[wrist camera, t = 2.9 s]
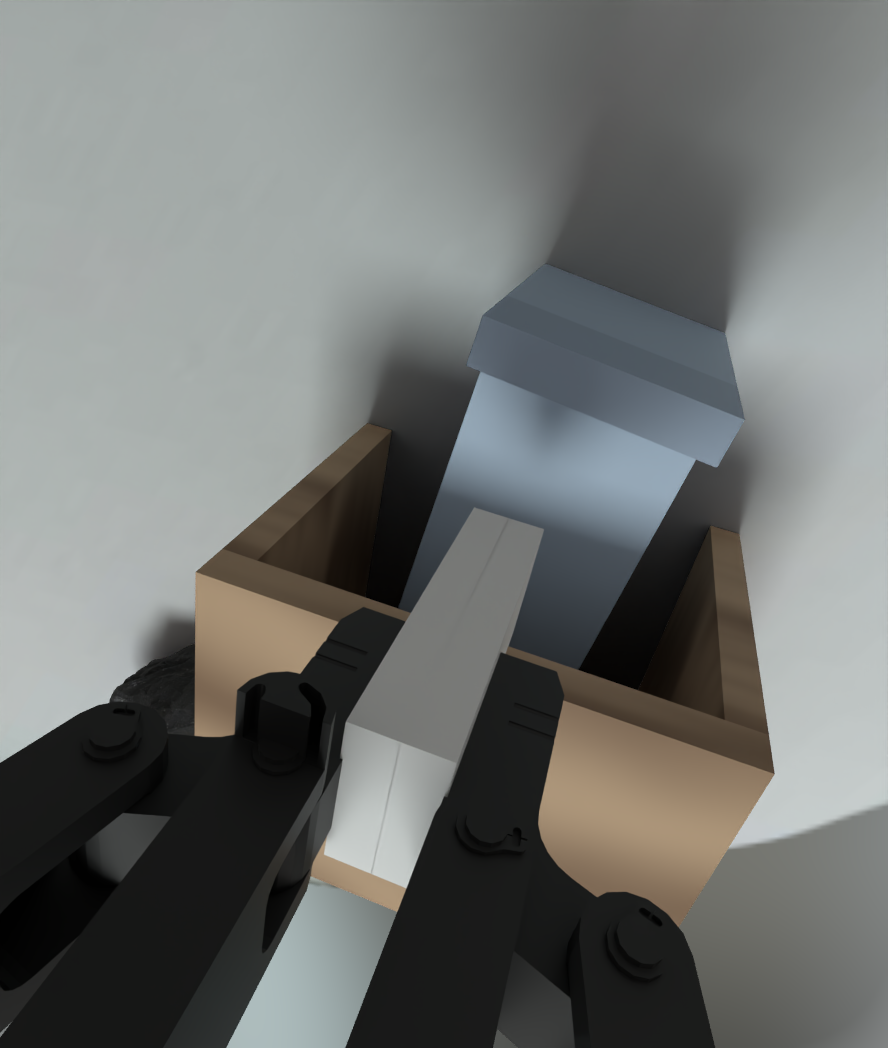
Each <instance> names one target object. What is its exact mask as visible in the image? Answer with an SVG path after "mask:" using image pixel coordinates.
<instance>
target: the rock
mask: <svg viewBox="0 0 888 1048" xmlns="http://www.w3.org/2000/svg"><path fill="white" fill-rule="evenodd" d="M119 701H120V702H131V703H140V704H142V705H144V706H147V707H149V708H151V709H154V710H156V712H157V713H158V714H159V715H160V716H161V717H162V718H163V719H164V720H165V722H166V727H167V732H168V734H179V735H191V736H195V644H194V645H191V646H189V647H186V648H184V649H183V650H181V651H179V652H177V653H176V654H174V655H172V656H170V657H168V658H164V659H157V660H153V661H151V662H150V663H149V664H148V665H147V666H145V667H143V668H142V669H140V670H138V671H137V672H136V674H133V675H132V676H130V677H128V678H127V679H126V680H125V681H124V683H123V684H122V685H120V686H118V687H117V688H116V689H115V690H114V692H113V694H112V696H111V698H110V702H109V703H114V702H119Z"/></svg>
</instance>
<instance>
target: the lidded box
mask: <svg viewBox="0 0 888 1048" xmlns="http://www.w3.org/2000/svg"><path fill="white" fill-rule="evenodd" d="M466 366H468V367H470V368H473V369H475V370H478V371H480V374H479V377H478V380H477V383H476V386H475V388H474V391H473V394H472V397H471V400H470V403H469V406H468V409H467V411H466V414H465V417H464V420H463V423H462V426H461V429H460V432H459V435H458V437H457V440H456V443H455V446H454V449H453V452H452V455H451V458H450V460H449V463H448V466H447V469H446V472H445V475H444V478H443V481H442V483H441V486H440V489H439V492H438V495H437V498H436V501H435V504H434V506H433V509H432V512H431V515H430V518H429V521H428V524H427V527H426V529H425V532H424V535H423V538H422V541H421V544H420V547H419V550H418V552H417V555H416V558H415V561H414V564H413V567H412V570H411V573H410V575H409V578H408V581H407V584H406V587H405V590H404V593H403V596H402V598H401V601H400V604H399V607H398V609H401V610H404V611H406V612H409V613H411V612H412V610H413V609H414V607H415V605H416V604H417V602H418V600H419V599H420V597H421V595H422V594H423V592H424V590H425V589H426V587H427V585H428V584H429V582H430V580H431V579H432V577H433V575H434V574H435V572H436V570H437V569H438V567H439V565H440V564H441V562H442V560H443V559H444V557H445V555H446V554H447V552H448V550H449V549H450V547H451V545H452V544H453V542H454V540H455V539H456V537H457V535H458V534H459V532H460V530H461V529H462V527H463V525H464V524H465V522H466V520H467V519H468V517H469V515H470V514H471V512H472V510H473V509H474V507H475V508H478V509H481V510H484V511H488V512H491V513H494V514H497V515H500V516H504V517H507V518H510V519H513V520H516V521H520V522H523V523H526V524H529V525H532V526H536V527H539V528H542V529H544V532H543V535H542V538H541V542H540V545H539V548H538V552H537V555H536V558H535V562H534V565H533V568H532V572H531V575H530V578H529V582H528V585H527V588H526V591H525V595H524V598H523V601H522V605H521V608H520V611H519V615H518V618H517V621H516V625H515V628H514V631H513V634H512V637H511V640H510V643H509V645H508V646H509V647H512V648H515V649H518V650H521V651H524V652H527V653H530V654H533V655H536V656H539V657H541V658H544V659H547V660H550V661H553V662H556V663H559V664H562V665H565V666H568V667H571V668H574V669H577V670H578V669H579V668H580V666H581V664H582V662H583V661H584V659H585V657H586V655H587V653H588V652H589V650H590V648H591V646H592V644H593V643H594V641H595V639H596V637H597V636H598V634H599V632H600V630H601V628H602V627H603V625H604V623H605V621H606V619H607V618H608V616H609V614H610V612H611V611H612V609H613V607H614V605H615V603H616V602H617V600H618V598H619V596H620V594H621V593H622V591H623V589H624V587H625V586H626V584H627V582H628V580H629V578H630V577H631V575H632V573H633V571H634V569H635V568H636V566H637V564H638V562H639V561H640V559H641V557H642V555H643V553H644V552H645V550H646V548H647V546H648V544H649V543H650V541H651V539H652V537H653V536H654V534H655V532H656V530H657V528H658V527H659V525H660V523H661V521H662V519H663V518H664V516H665V514H666V512H667V511H668V509H669V507H670V505H671V503H672V502H673V500H674V498H675V496H676V495H677V493H678V491H679V489H680V487H681V486H682V484H683V482H684V480H685V478H686V477H687V475H688V473H689V471H690V470H691V468H692V466H693V464H694V462H695V461H696V460H698V461H701V462H703V463H706V464H708V465H711V466H713V467H716V468H717V467H718V465H719V463H720V461H721V460H722V458H723V456H724V455H725V453H726V451H727V449H728V448H729V446H730V444H731V443H732V441H733V439H734V437H735V436H736V434H737V432H738V431H739V429H740V427H741V425H742V424H743V422H744V420H745V419H744V414H743V410H742V406H741V401H740V397H739V392H738V388H737V383H736V379H735V375H734V370H733V366H732V361H731V357H730V353H729V348H728V344H727V339H726V335H725V333H724V332H721V331H718V330H716V329H713V328H711V327H708V326H705V325H703V324H700V323H698V322H695V321H693V320H690V319H687V318H685V317H682V316H680V315H677V314H674V313H672V312H669V311H667V310H664V309H662V308H659V307H656V306H654V305H651V304H649V303H646V302H643V301H641V300H638V299H636V298H633V297H631V296H628V295H625V294H623V293H620V292H618V291H615V290H612V289H610V288H607V287H605V286H602V285H600V284H597V283H594V282H592V281H589V280H587V279H584V278H582V277H579V276H576V275H574V274H571V273H569V272H566V271H563V270H561V269H558V268H556V267H553V266H551V265H548V264H544V265H543V266H542V267H541V268H539V269H538V270H537V271H536V272H535V273H533V274H532V275H531V276H530V277H528V278H527V279H526V280H525V281H524V282H522V283H521V284H520V285H519V286H518V287H516V288H515V289H514V290H513V291H512V292H510V293H509V294H508V295H507V296H506V297H504V298H503V299H502V300H501V301H499V302H498V303H497V304H496V305H495V306H493V307H492V308H491V309H490V310H489V311H487V312H486V313H485V314H484V315H483V316H482V319H481V322H480V325H479V328H478V331H477V334H476V337H475V340H474V343H473V346H472V349H471V352H470V355H469V358H468V361H467V364H466Z"/></svg>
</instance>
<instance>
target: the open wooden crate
mask: <svg viewBox="0 0 888 1048" xmlns="http://www.w3.org/2000/svg"><path fill="white" fill-rule="evenodd" d="M391 433H392V430H389V429H385V428H382V427H378V426H375V425H372V424H368V423H367V424H366V425H365V426H364V427H362V428H361V429H360V430H359V431H358V432H357V433H355V434H354V435H353V436H352V437H351V438H350V439H349V440H347V441H346V442H345V443H344V444H343V445H342V446H340V447H339V448H338V449H337V450H336V451H335V452H334V453H332V454H331V455H330V456H329V457H328V458H327V459H325V460H324V461H323V462H322V463H321V464H320V465H319V466H317V467H316V468H315V469H314V470H313V471H312V472H311V473H309V474H308V475H307V476H306V477H305V478H304V479H302V480H301V481H300V482H299V483H298V484H297V485H296V486H294V487H293V488H292V489H291V490H290V491H289V492H287V493H286V494H285V495H284V496H283V497H282V498H281V499H279V500H278V501H277V502H276V503H275V504H274V505H272V506H271V507H270V508H269V509H268V510H267V511H266V512H264V513H263V514H262V515H261V516H260V517H259V518H257V519H256V520H255V521H254V522H253V523H252V524H251V525H249V526H248V527H247V528H246V529H245V530H244V531H242V532H241V533H240V534H239V535H238V536H237V537H236V538H234V539H233V540H232V541H231V542H230V543H229V544H227V545H226V546H225V547H224V548H223V549H222V550H221V551H219V552H218V553H217V554H216V555H215V556H214V557H213V558H211V559H210V560H209V561H208V562H207V563H206V564H204V565H203V566H202V567H201V568H200V569H199V570H198V571H196V597H195V736H202V737H223V736H229V735H234V733H235V716H236V698H237V690H238V689H239V688H240V687H241V686H243V685H244V684H245V683H246V682H248V681H249V680H250V679H252V678H255V677H258V676H260V675H263V674H266V673H269V672H285V671H289V672H294V673H299V674H300V673H301V672H302V671H303V669H304V668H305V667H306V665H307V664H308V663H309V661H310V660H311V659H312V657H314V656H315V654H316V652H317V650H318V649H319V648H320V646H321V645H322V644H323V642H324V641H325V642H326V640H327V637H328V636H329V634H330V633H331V632H332V630H333V629H334V628H335V626H336V625H337V624H338V622H339V621H340V620H341V619H342V618H344V617H346V616H348V615H349V614H351V613H353V612H355V611H357V610H359V609H361V608H362V607H366V608H368V609H371V610H374V611H377V612H380V613H383V614H386V615H389V616H392V617H395V618H397V619H400V620H403V621H406V620H407V619H408V617H409V615H410V614H411V613H409V612H406V611H404V610H401V609H398V608H395V607H392V606H389V605H386V604H383V603H380V602H377V601H374V600H371V599H368V598H365V596H366V590H367V584H368V577H369V571H370V565H371V559H372V552H373V546H374V540H375V533H376V527H377V521H378V515H379V508H380V502H381V496H382V489H383V483H384V477H385V471H386V464H387V458H388V452H389V445H390V439H391ZM506 654H508V655H511V656H513V657H516V658H519V659H522V660H525V661H528V662H531V663H534V664H537V665H540V666H542V667H545V668H548V669H551V670H554V671H557V673H558V676H559V680H560V683H561V686H562V689H563V692H564V695H565V696H564V700H563V705H562V709H561V714H560V718H559V722H558V728H557V732H556V737H555V740H554V746H553V751H552V755H551V760H550V764H549V769H548V773H547V778H546V783H545V787H544V792H543V796H542V801H541V805H540V810H539V821H538V825H539V830H540V835H541V839H542V841H543V843H544V845H545V847H546V849H547V852H548V853H549V854H550V856H551V857H552V858H553V860H554V861H555V862H556V864H557V865H558V866H559V867H560V868H561V869H562V870H563V871H564V872H565V873H566V874H568V875H569V876H570V877H571V878H572V879H573V880H575V881H576V882H577V883H579V884H580V885H581V886H583V887H584V888H585V889H587V890H588V891H589V892H591V893H592V894H593V895H595V896H596V897H599V896H600V895H602V894H604V893H606V892H629V893H631V894H634V895H637V896H640V897H643V898H646V899H648V900H649V901H651V902H652V903H654V904H655V905H656V906H658V907H659V908H660V909H662V910H663V911H664V912H666V913H667V914H668V915H669V916H670V917H671V919H672V920H673V921H674V922H675V924H676V925H677V926H678V927H679V926H680V924H681V922H682V921H683V919H684V918H685V916H686V915H687V913H688V911H689V910H690V908H691V907H692V905H693V904H694V902H695V900H696V898H697V897H698V895H699V894H700V892H701V891H702V889H703V888H704V886H705V884H706V883H707V881H708V879H709V878H710V876H711V875H712V873H713V872H714V870H715V868H716V867H717V865H718V863H719V862H720V860H721V859H722V857H723V856H724V854H725V852H726V851H727V849H728V848H729V846H730V844H731V843H732V841H733V840H734V838H735V836H736V835H737V833H738V832H739V830H740V828H741V827H742V825H743V824H744V822H745V821H746V819H747V817H748V816H749V814H750V813H751V811H752V809H753V808H754V806H755V805H756V803H757V801H758V800H759V798H760V797H761V795H762V793H763V792H764V790H765V789H766V787H767V785H768V784H769V782H770V781H771V779H772V777H773V776H774V767H773V760H772V753H771V746H770V740H769V733H768V726H767V719H766V712H765V706H764V699H763V692H762V685H761V678H760V672H759V665H758V658H757V651H756V644H755V638H754V631H753V624H752V617H751V610H750V604H749V597H748V590H747V583H746V576H745V570H744V563H743V556H742V549H741V542H740V536H739V534H737V533H734V532H730V531H727V530H724V529H720V528H717V527H714V526H710V528H709V530H708V532H707V535H706V537H705V539H704V541H703V544H702V546H701V548H700V551H699V553H698V555H697V557H696V560H695V562H694V564H693V566H692V569H691V571H690V573H689V575H688V578H687V580H686V582H685V585H684V587H683V589H682V591H681V594H680V596H679V598H678V600H677V603H676V605H675V607H674V609H673V612H672V614H671V616H670V619H669V621H668V623H667V625H666V628H665V630H664V632H663V634H662V637H661V639H660V641H659V644H658V646H657V648H656V650H655V653H654V655H653V657H652V659H651V662H650V664H649V666H648V668H647V671H646V673H645V675H644V678H643V680H642V682H641V684H640V687H639V689H638V690H635V689H632V688H629V687H627V686H624V685H621V684H618V683H615V682H612V681H609V680H606V679H603V678H600V677H597V676H594V675H591V674H588V673H585V672H583V671H580V670H577V669H574V668H571V667H568V666H565V665H562V664H559V663H556V662H553V661H550V660H547V659H544V658H541V657H539V656H536V655H533V654H530V653H527V652H524V651H521V650H518V649H515V648H512V647H509V646H508V648H507V651H506ZM326 839H327V837H326ZM326 839H325V841H324V843H323V845H322V846H321V848H320V850H319V852H318V854H317V856H316V858H315V860H314V862H313V865H312V871H311V876H312V877H314V878H317V879H319V880H322V881H324V882H326V883H329V884H331V885H334V886H336V887H339V888H341V889H343V890H346V891H348V892H351V893H353V894H355V895H358V896H361V897H363V898H365V899H368V900H370V901H372V902H375V903H377V904H380V905H382V906H384V907H387V908H389V909H392V910H394V911H398V909H399V906H400V904H401V901H402V898H403V896H404V893H405V891H406V888H404V887H402V886H399V885H397V884H395V883H392V882H390V881H387V880H385V879H382V878H380V877H377V876H375V875H373V874H370V873H368V872H365V871H363V870H360V869H358V868H356V867H353V866H351V865H348V864H346V863H343V862H341V861H338V860H336V859H334V858H331V857H329V856H326V855H324V851H325V845H326Z"/></svg>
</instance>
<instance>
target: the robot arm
mask: <svg viewBox="0 0 888 1048" xmlns="http://www.w3.org/2000/svg"><path fill="white" fill-rule="evenodd" d="M543 532H544V529H542V528H539V527H536V526H532V525H529V524H526V523H523V522H520V521H516V520H513V519H510V518H507V517H504V516H500V515H497V514H494V513H491V512H488V511H484V510H481V509H478V508H475V507H474V509H473V510H472V512H471V514H470V515H469V517H468V519H467V520H466V522H465V524H464V525H463V527H462V529H461V530H460V532H459V534H458V535H457V537H456V539H455V540H454V542H453V544H452V545H451V547H450V549H449V550H448V552H447V554H446V555H445V557H444V559H443V560H442V562H441V564H440V565H439V567H438V569H437V570H436V572H435V574H434V575H433V577H432V579H431V580H430V582H429V584H428V585H427V587H426V589H425V590H424V592H423V594H422V595H421V597H420V599H419V600H418V602H417V604H416V605H415V607H414V609H413V610H412V612H411V614H410V615H409V617H408V619H407V620H406V621H403V620H400V619H397V618H395V617H392V616H389V615H386V614H383V613H380V612H377V611H374V610H371V609H368V608H366V607H362V608H361V609H359V610H357V611H355V612H353V613H351V614H349V615H348V616H346V617H344V618H342V619H341V620H340V621H339V622H338V624H337V625H336V626H335V628H334V629H333V630H332V632H331V633H330V634H329V636H328V637H327V640H326V642H325V641H324V642H323V644H322V645H321V646H320V648H319V649H318V650H317V652H316V654H315V656H314V657H312V659H311V660H310V661H309V663H308V664H307V665H306V667H305V668H304V669H303V671H302V672H301V673H300V674H299V673H294V672H289V671H285V672H269V673H266V674H263V675H260V676H258V677H255V678H252V679H250V680H249V681H248V682H246V683H245V684H244V685H243V686H241V687H240V688H239V689H238V690H237V698H236V716H235V733H234V735H229V736H223V737H202V736H191V735H179V734H168V732H167V727H166V722H165V720H164V719H163V718H162V717H161V716H160V715H159V714H158V713H157V712H156V710H154V709H151V708H149V707H147V706H144V705H142V704H140V703H131V702H120V701H119V702H114V703H108V704H102V705H98V706H95V707H93V708H91V709H89V710H86V711H84V712H82V713H80V714H78V715H76V716H75V717H73V718H72V719H70V720H68V721H67V722H65V723H64V724H62V725H60V726H59V727H57V728H55V729H54V730H52V731H51V732H49V733H47V734H46V735H44V736H43V737H41V738H39V739H38V740H36V741H35V742H33V743H31V744H30V745H28V746H27V747H25V748H23V749H22V750H20V751H19V752H17V753H15V754H14V755H12V756H11V757H9V758H7V759H6V760H4V761H3V762H1V763H0V1032H1V1031H2V1030H3V1029H5V1028H6V1027H7V1026H8V1024H10V1023H11V1022H12V1021H13V1022H12V1023H11V1024H10V1025H9V1027H8V1028H7V1029H6V1031H5V1032H4V1033H3V1034H2V1036H1V1037H0V1048H226V1047H227V1045H228V1043H229V1041H230V1039H231V1037H232V1035H233V1033H234V1031H235V1029H236V1027H237V1025H238V1023H239V1022H240V1020H241V1017H242V1016H243V1014H244V1012H245V1010H246V1008H247V1006H248V1004H249V1002H250V1000H251V998H252V996H253V994H254V992H255V990H256V988H257V986H258V984H259V982H260V980H261V979H262V977H263V975H264V973H265V971H266V969H267V967H268V965H269V963H270V961H271V959H272V957H273V955H274V953H275V951H276V949H277V947H278V945H279V943H280V941H281V939H282V937H283V935H284V934H285V931H286V930H287V928H288V926H289V924H290V922H291V920H292V918H293V916H294V914H295V912H296V910H297V908H298V906H299V904H300V902H301V900H302V898H303V896H304V894H305V892H306V891H307V887H308V883H309V880H310V876H311V871H312V865H313V862H314V860H315V858H316V856H317V854H318V852H319V850H320V848H321V846H322V845H323V843H324V841H325V839H326V837H327V839H326V845H325V851H324V855H326V856H329V857H331V858H334V859H336V860H338V861H341V862H343V863H346V864H348V865H351V866H353V867H356V868H358V869H360V870H363V871H365V872H368V873H370V874H373V875H375V876H377V877H380V878H382V879H385V880H387V881H390V882H392V883H395V884H397V885H399V886H402V887H404V888H406V891H405V893H404V896H403V898H402V901H401V904H400V906H399V909H398V911H397V914H396V917H395V919H394V922H393V925H392V927H391V930H390V932H389V935H388V938H387V940H386V943H385V945H384V948H383V951H382V954H381V956H380V959H379V961H378V964H377V966H376V969H375V972H374V974H373V977H372V980H371V982H370V985H369V987H368V990H367V993H366V995H365V998H364V1000H363V1003H362V1006H361V1008H360V1011H359V1014H358V1016H357V1019H356V1021H355V1024H354V1027H353V1029H352V1032H351V1034H350V1037H349V1040H348V1042H347V1045H346V1048H493V1044H494V1040H495V1035H496V1031H497V1029H498V1030H499V1031H500V1032H501V1033H502V1034H504V1035H505V1036H506V1037H507V1038H508V1039H509V1040H510V1041H511V1042H512V1043H514V1044H515V1045H516V1046H517V1047H518V1048H715V1045H714V1041H713V1037H712V1033H711V1029H710V1024H709V1020H708V1016H707V1012H706V1008H705V1004H704V1000H703V996H702V992H701V988H700V983H699V979H698V975H697V971H696V967H695V963H694V959H693V955H692V953H691V951H690V948H689V946H688V943H687V941H686V939H685V936H684V934H683V932H682V931H681V930H680V929H679V927H678V926H677V925H676V924H675V922H674V921H673V920H672V919H671V917H670V916H669V915H668V914H667V913H666V912H664V911H663V910H662V909H660V908H659V907H658V906H656V905H655V904H654V903H652V902H651V901H649V900H648V899H646V898H643V897H640V896H637V895H634V894H631V893H629V892H606V893H604V894H602V895H600V896H599V897H596V896H595V895H593V894H592V893H591V892H589V891H588V890H587V889H585V888H584V887H583V886H581V885H580V884H579V883H577V882H576V881H575V880H573V879H572V878H571V877H570V876H569V875H568V874H566V873H565V872H564V871H563V870H562V869H561V868H560V867H559V866H558V865H557V864H556V862H555V861H554V860H553V858H552V857H551V856H550V854H549V853H548V852H547V849H546V847H545V845H544V843H543V841H542V839H541V835H540V830H539V825H538V821H539V810H540V805H541V801H542V796H543V792H544V787H545V783H546V778H547V773H548V769H549V764H550V760H551V755H552V751H553V746H554V740H555V737H556V732H557V728H558V722H559V718H560V714H561V709H562V705H563V700H564V696H565V695H564V692H563V689H562V686H561V683H560V680H559V676H558V673H557V671H554V670H551V669H548V668H545V667H542V666H540V665H537V664H534V663H531V662H528V661H525V660H522V659H519V658H516V657H513V656H511V655H508V654H506V651H507V648H508V645H509V643H510V640H511V637H512V634H513V631H514V628H515V625H516V621H517V618H518V615H519V611H520V608H521V605H522V601H523V598H524V595H525V591H526V588H527V585H528V582H529V578H530V575H531V572H532V568H533V565H534V562H535V558H536V555H537V552H538V548H539V545H540V542H541V538H542V535H543Z"/></svg>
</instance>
